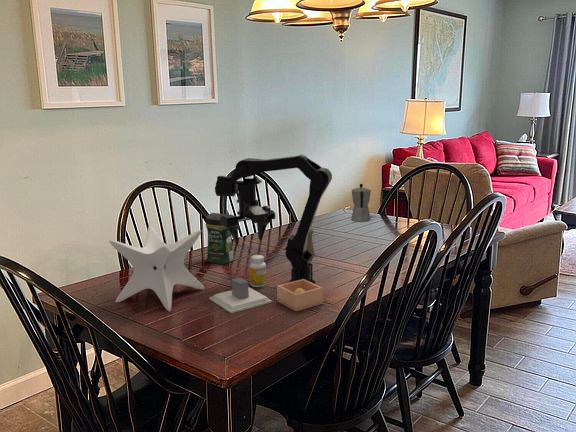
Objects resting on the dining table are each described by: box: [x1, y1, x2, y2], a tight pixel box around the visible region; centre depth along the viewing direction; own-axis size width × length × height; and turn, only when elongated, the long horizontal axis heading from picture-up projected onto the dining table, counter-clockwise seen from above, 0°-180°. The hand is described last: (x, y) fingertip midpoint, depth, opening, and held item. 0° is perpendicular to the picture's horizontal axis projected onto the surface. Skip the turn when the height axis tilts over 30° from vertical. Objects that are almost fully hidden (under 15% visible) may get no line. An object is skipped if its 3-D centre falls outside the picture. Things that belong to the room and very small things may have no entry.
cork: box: [307, 227, 315, 256], centre depth 213 cm, size 6×6×11 cm
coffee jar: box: [205, 212, 234, 265], centre depth 206 cm, size 10×8×19 cm
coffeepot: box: [351, 183, 372, 223], centre depth 267 cm, size 15×9×18 cm, turn 175°
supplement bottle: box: [249, 254, 267, 288], centre depth 181 cm, size 5×5×10 cm
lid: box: [213, 277, 268, 310], centre depth 167 cm, size 12×12×6 cm
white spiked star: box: [108, 225, 205, 312], centre depth 171 cm, size 20×20×20 cm
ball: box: [294, 288, 305, 294], centre depth 165 cm, size 4×4×4 cm
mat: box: [208, 295, 273, 314], centre depth 168 cm, size 14×14×1 cm
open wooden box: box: [276, 279, 324, 312], centre depth 165 cm, size 10×10×5 cm
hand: (248, 242), depth 185 cm, fingers open, 9 cm apart
